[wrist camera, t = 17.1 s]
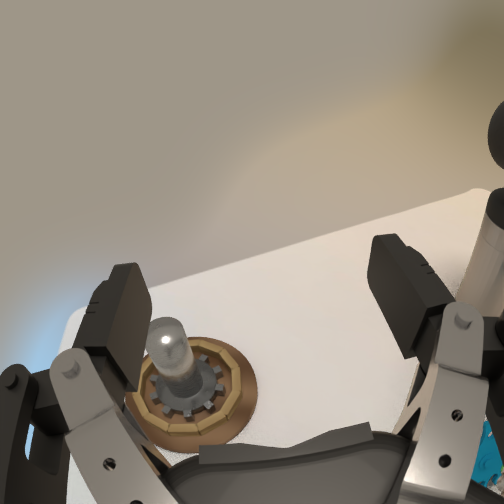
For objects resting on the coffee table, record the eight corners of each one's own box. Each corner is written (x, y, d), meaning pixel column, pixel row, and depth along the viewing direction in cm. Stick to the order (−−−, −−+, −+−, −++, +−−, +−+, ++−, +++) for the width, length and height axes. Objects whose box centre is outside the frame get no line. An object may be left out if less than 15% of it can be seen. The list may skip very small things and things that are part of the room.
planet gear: (179, 350, 40) (155, 291, 34) (238, 373, 37) (225, 314, 30) (139, 401, 34) (101, 348, 27) (200, 434, 30) (172, 388, 24)
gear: (429, 495, 19) (478, 414, 20) (420, 470, 25) (460, 398, 26) (499, 502, 16) (544, 427, 16) (484, 481, 21) (522, 413, 22)
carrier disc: (174, 327, 45) (169, 315, 44) (278, 364, 39) (278, 353, 37) (105, 412, 33) (96, 402, 32) (216, 477, 26) (211, 471, 25)
